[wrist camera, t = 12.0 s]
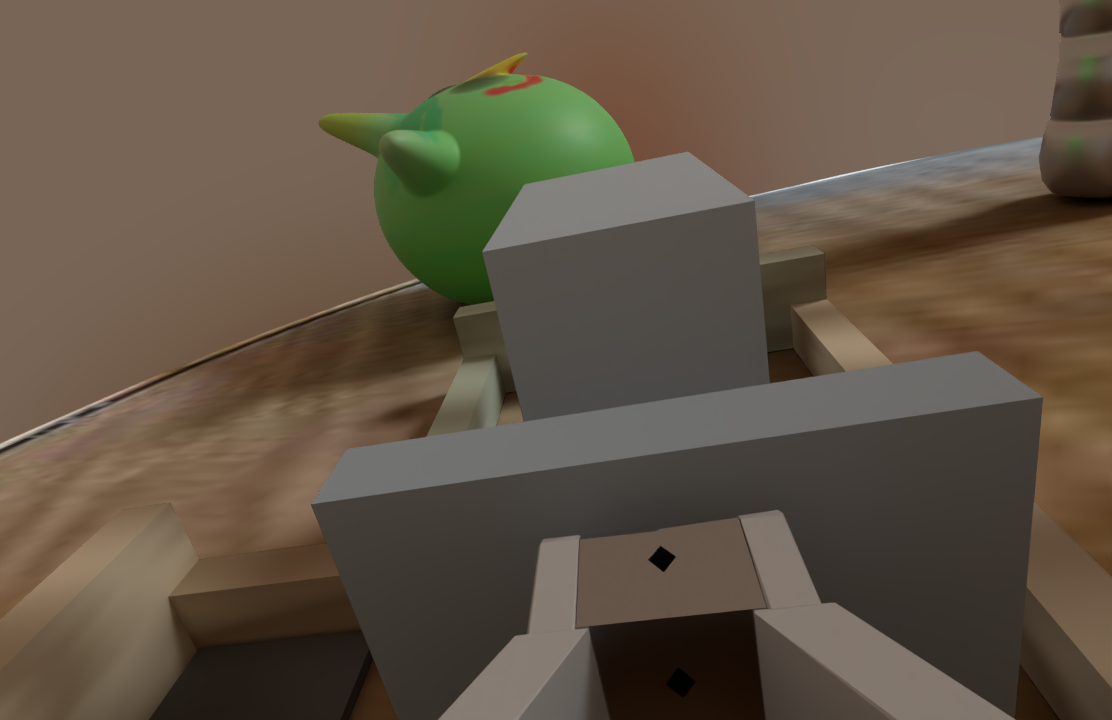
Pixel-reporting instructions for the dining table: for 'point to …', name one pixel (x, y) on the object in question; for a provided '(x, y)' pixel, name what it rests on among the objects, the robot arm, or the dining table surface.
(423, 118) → the toy bird
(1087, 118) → the plastic bottle
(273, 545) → the dining table surface
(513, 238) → the bookend block
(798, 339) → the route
